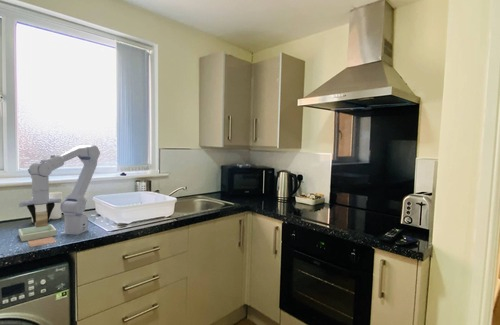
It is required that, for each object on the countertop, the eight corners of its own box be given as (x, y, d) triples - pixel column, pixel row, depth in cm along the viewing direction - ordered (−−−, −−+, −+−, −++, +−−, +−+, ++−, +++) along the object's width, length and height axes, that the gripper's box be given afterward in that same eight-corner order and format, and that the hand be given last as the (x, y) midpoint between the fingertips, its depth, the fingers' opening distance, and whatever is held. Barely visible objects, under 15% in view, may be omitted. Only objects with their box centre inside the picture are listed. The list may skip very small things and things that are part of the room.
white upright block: (60, 216, 164) (60, 191, 163) (64, 218, 160) (64, 192, 159) (47, 218, 159) (46, 192, 158) (50, 220, 154) (50, 194, 154)
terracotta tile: (56, 242, 120) (56, 241, 120) (30, 248, 113) (30, 246, 113) (52, 237, 126) (52, 236, 126) (27, 242, 120) (27, 241, 120)
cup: (45, 219, 156) (44, 194, 155) (54, 221, 152) (53, 196, 151) (27, 223, 148) (27, 197, 147) (36, 225, 145) (35, 198, 144)
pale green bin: (56, 236, 128) (56, 229, 128) (21, 242, 119) (21, 235, 119) (51, 230, 137) (51, 224, 137) (18, 235, 128) (18, 229, 128)
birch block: (47, 225, 120) (47, 212, 120) (36, 227, 117) (35, 213, 117) (46, 223, 123) (45, 210, 122) (34, 225, 120) (34, 212, 120)
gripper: (58, 187, 127) (59, 216, 127) (17, 190, 117) (18, 222, 117) (62, 189, 122) (62, 219, 122) (19, 192, 111) (20, 225, 112)
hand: (41, 221), depth 119 cm, fingers closed on birch block, 4 cm apart
